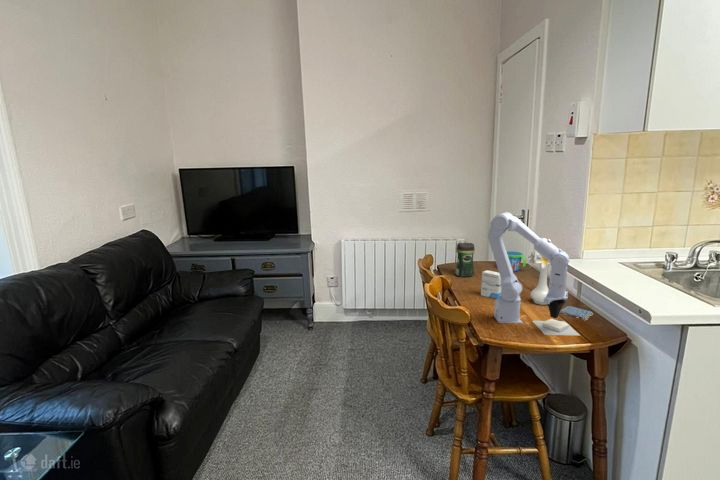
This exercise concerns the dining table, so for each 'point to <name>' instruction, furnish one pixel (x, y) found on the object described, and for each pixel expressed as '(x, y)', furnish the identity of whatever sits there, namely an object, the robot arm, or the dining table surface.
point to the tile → (555, 325)
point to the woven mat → (577, 312)
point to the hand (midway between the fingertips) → (553, 317)
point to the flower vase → (542, 288)
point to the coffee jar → (465, 259)
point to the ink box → (491, 284)
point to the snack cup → (516, 259)
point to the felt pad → (552, 332)
